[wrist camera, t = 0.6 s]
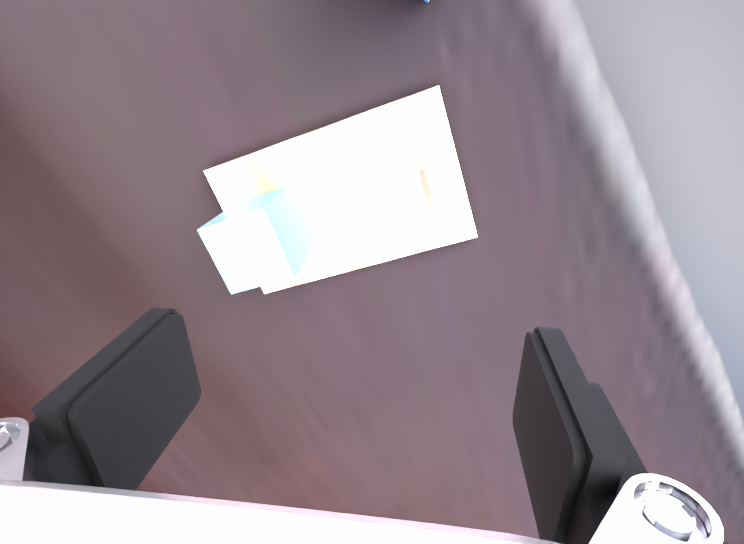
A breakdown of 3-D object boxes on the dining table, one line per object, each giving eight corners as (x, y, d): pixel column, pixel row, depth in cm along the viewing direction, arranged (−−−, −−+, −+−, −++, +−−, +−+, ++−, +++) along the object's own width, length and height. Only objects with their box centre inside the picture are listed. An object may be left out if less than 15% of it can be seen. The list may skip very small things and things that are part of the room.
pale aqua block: (262, 259, 37) (231, 294, 32) (235, 203, 35) (196, 229, 30) (316, 243, 36) (294, 276, 30) (291, 184, 34) (263, 207, 28)
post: (397, 203, 34) (390, 232, 28) (386, 170, 33) (377, 193, 27) (430, 193, 33) (431, 221, 27) (421, 159, 32) (419, 180, 26)
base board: (269, 286, 40) (264, 294, 39) (211, 167, 36) (203, 171, 35) (475, 230, 36) (477, 237, 34) (438, 85, 31) (439, 85, 30)
